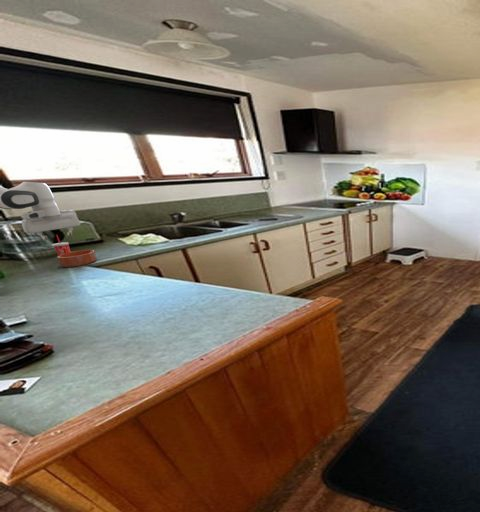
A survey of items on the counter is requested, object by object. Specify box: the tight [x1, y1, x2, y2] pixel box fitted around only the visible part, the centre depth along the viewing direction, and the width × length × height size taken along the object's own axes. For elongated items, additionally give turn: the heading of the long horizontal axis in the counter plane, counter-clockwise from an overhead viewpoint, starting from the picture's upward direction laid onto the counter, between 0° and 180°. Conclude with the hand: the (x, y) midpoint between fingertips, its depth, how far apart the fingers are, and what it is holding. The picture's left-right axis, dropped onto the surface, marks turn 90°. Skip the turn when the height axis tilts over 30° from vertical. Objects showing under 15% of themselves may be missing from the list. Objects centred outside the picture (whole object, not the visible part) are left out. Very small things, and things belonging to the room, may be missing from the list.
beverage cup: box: [51, 234, 72, 256], centre depth 150 cm, size 6×6×14 cm
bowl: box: [56, 249, 98, 268], centre depth 144 cm, size 13×13×6 cm
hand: (58, 237), depth 149 cm, fingers open, 8 cm apart
